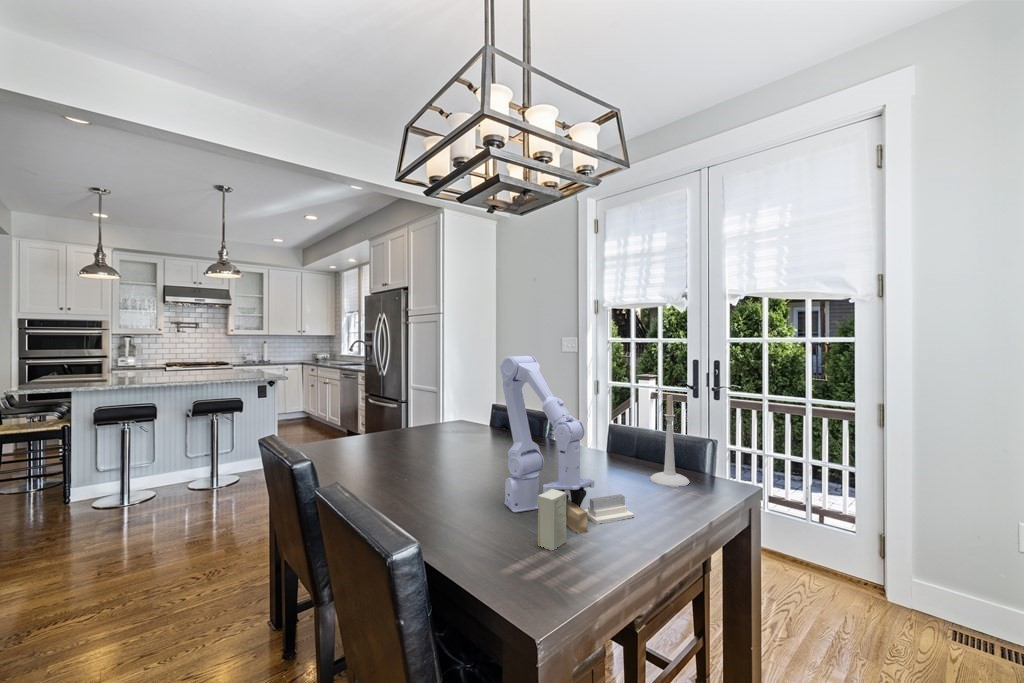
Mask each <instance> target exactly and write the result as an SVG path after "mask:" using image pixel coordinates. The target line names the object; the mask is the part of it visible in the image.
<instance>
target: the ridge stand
mask: <svg viewBox="0 0 1024 683" xmlns="http://www.w3.org/2000/svg"><path fill="white" fill-rule="evenodd" d="M625 497H626V496H624V495H623V494H621V493H620V494H611V495H607V496H601V497H600V496H599V497H593V498H589V506H587V508H586V509H583V510H585V511H586V512H587V519H588V518H589V519H590V520H589V519H588V520H589V521H591V520H592V521H593V523H594V524H595V525H600V523H602V524H606V523H607V522H608V523H614V522H619V521H623V520H622V519H625V520H628V519H627V518H631V519H633V518H632V517H634V518H635V513H633V512H631V511H629V510H628V506H627V505H625V504H626V498H625ZM618 520H619V521H618ZM592 521H591V522H592ZM613 521H614V522H613ZM608 523H607V524H608Z"/></svg>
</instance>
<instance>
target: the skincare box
mask: <svg viewBox="0 0 1024 683" xmlns="http://www.w3.org/2000/svg"><path fill="white" fill-rule="evenodd" d="M566 494H567V491H565V492H562V491H559V490H555V489H550V490H548V491H546V492H542V493H540V494H539V495H538V509H537V546H538V547H540V546H541V548H543V547H544V548H543V549H546V550H548V549H549V551H551V550H553V551H555V550H556V549H558V548H559V547H561V546H563V545H564V544H565V543H567V525H566ZM557 547H558V548H557ZM554 549H555V550H554Z"/></svg>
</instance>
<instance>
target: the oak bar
mask: <svg viewBox="0 0 1024 683" xmlns="http://www.w3.org/2000/svg"><path fill="white" fill-rule="evenodd" d="M567 525H568V528H570V529H571V528H572V529H573V530H572V529H571V530H572V531H574V532H575V531H576V532H577V533H579V534H583V532H584V533H588V518H587V512H586V511H585V510H584V509H583V508H582V507H581V506H580V507H579V506H577V505H576V504H575V503H573V502H572V501H571V499H569V498H568V502H567V518H566V526H567ZM576 532H575V533H576ZM577 533H576V534H577Z"/></svg>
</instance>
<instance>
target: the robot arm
mask: <svg viewBox="0 0 1024 683" xmlns="http://www.w3.org/2000/svg"><path fill="white" fill-rule="evenodd" d="M499 368H500V373H501V379H502V388H503V395H504V400H505V404H506V409H507V416H508V420H509V425H510V431H511V436H512V441H513V444H512V446H511V447H510V449H509V450H508V451H507V455H508V459H507V460H508V462H507V468H508V471H509V472H510V474H511V476H510V477H507V478H506V479H505V483H504V503H503V504H504V505H505V506H506V507H507V508H508V509H509V510H511V512H513V513H520V512H527V511H534V510H535V511H536V510H538V495H540V494H539V491H540V490H539V489H540V488H539V486H540V485H539V484H540V483H539V476H540V475H541V471H542V470H543V468H544V466H545V458H544V456H543V454H542V453H541V450H540V446H539V444H537V443H536V442H535V441H533V439H532V434H531V430H530V424H529V419H528V415H527V410H526V404H525V399H524V398H525V397H524V394H523V387H524V386H525V384H526V383H527V384H529V386H530V388H531V389H532V390H533V391H534V393H535V394H536V395H537V397H538V398H539V399H540V401H541V403H543V404H542V412H543V413H544V414H545V416H546V418H547V419H548V421H549V422H550V424H551V426H552V427H553V429H554V431H553V438H554V439H555V442H556V448H557V450H558V452H557V453H558V457H557V459H558V460H557V462H558V467H557V468H558V475H557V477H558V480H555V481H553V482H549V483H545V484H542V493H544V492H546V491H548V490H550V489H555V490H559V491H562V492H567V491H569V492H570V501H572V502H573V503H575V504H576V505H577V506H579V507H580V508H581V506H582V503H583V501H584V500H585V498H586V496H587V490H585V489H586V488H592V489H594V488H595V480H594V479H592V478H581V472H580V471H581V470H580V469H581V440H583V438H584V436H585V428H584V425H583V423H582V421H580V420H579V419H576V418H575V417H574V416H572V414H570V412H569V410H568V408H567V407H566V405H565V402H564V401H563V399H561V398H560V397H555V396H554V394H553V393H552V391H551V389H550V388H549V386H548V383H547V382H546V380H545V378H544V377H543V374H542V373H541V371H540V370H541V365H540V364H539V362H538V361H537V359H536V357H535V356H534V355H531V354H529V355H516V356H515V355H507V356H505V357H504V358H503V360H502V362H501V364H500V366H499ZM568 499H569V495H568V494H567V493H566V518H567V502H568Z"/></svg>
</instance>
